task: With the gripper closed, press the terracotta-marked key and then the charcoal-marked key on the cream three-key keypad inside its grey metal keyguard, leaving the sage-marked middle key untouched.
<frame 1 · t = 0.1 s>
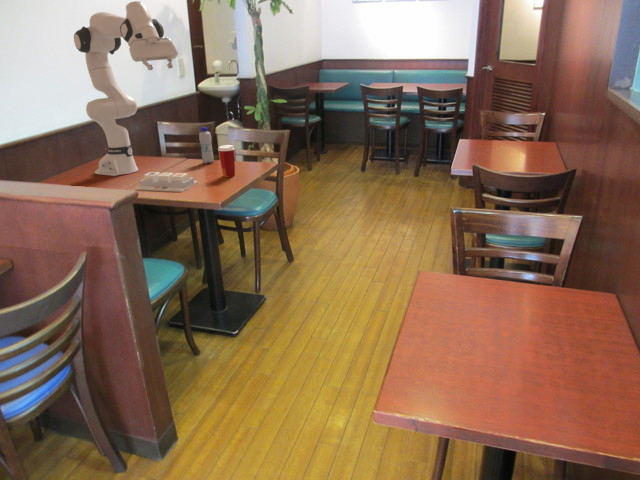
hand: (161, 68, 218), 54 cm above the table, tool tilted 30°, fingers open, 8 cm apart
coffee cup: (229, 176, 259), on the table
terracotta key: (180, 177, 242), point 5 cm above the table, slide at 0.0 cm
charcoal key: (152, 176, 246), point 5 cm above the table, slide at 0.0 cm
bottle: (208, 163, 287), on the table
sage key: (166, 177, 244), point 5 cm above the table, slide at 0.0 cm
keypad base: (167, 186, 245), on the table
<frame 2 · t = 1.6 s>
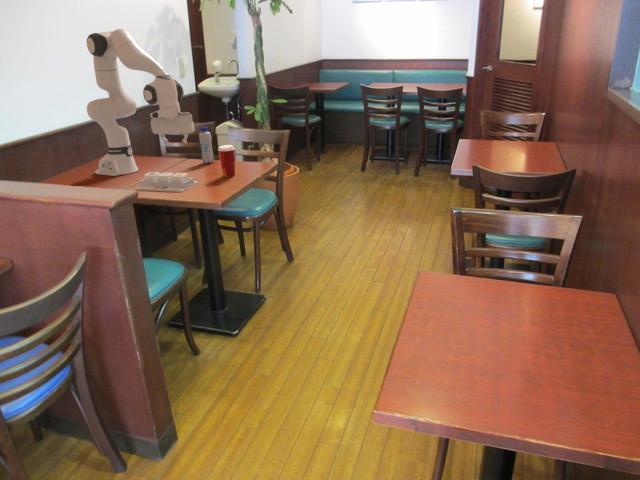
hand: (175, 143, 235), 21 cm above the table, tool pointing down, fingers open, 8 cm apart
nothing on the table moved.
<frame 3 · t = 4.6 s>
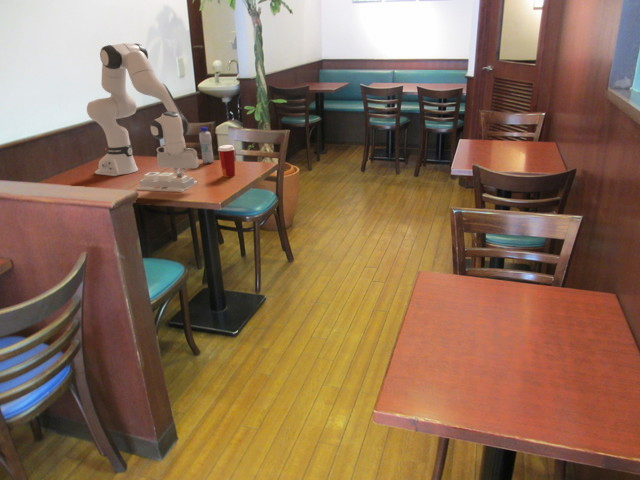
hand: (180, 176, 241), 5 cm above the table, tool pointing down, fingers closed, pressing on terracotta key
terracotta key: (180, 179, 242), point 3 cm above the table, slide at 1.1 cm, touching gripper
everything else where it was.
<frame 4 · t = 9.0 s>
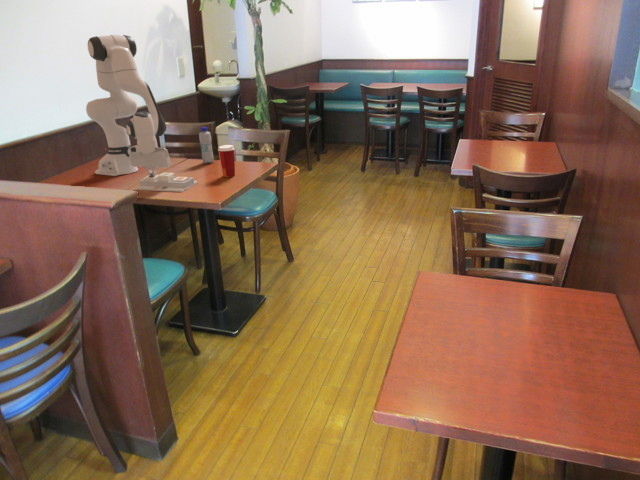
hand: (152, 175, 245), 5 cm above the table, tool pointing down, fingers closed, pressing on charcoal key
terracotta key: (180, 181, 242), point 3 cm above the table, slide at 1.8 cm
charcoal key: (153, 179, 246), point 3 cm above the table, slide at 1.2 cm, touching gripper
everything else where it was.
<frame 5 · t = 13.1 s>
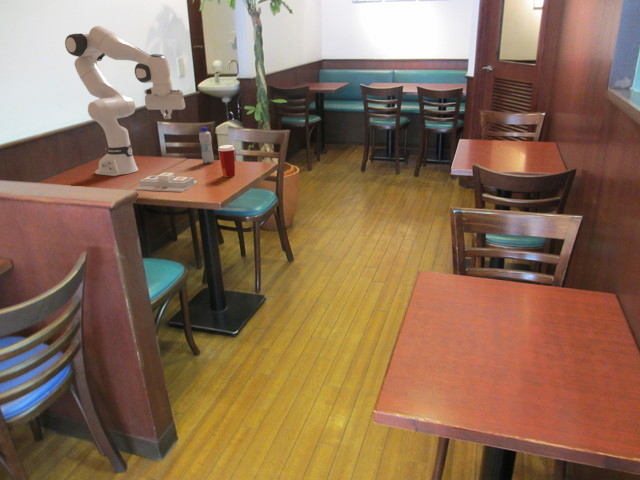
hand: (167, 118, 252), 29 cm above the table, tool pointing down, fingers closed
charcoal key: (153, 180, 246), point 3 cm above the table, slide at 1.9 cm
everything else where it was.
at the end: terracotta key slide at 1.8 cm; charcoal key slide at 1.9 cm; sage key slide at 0.0 cm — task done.
